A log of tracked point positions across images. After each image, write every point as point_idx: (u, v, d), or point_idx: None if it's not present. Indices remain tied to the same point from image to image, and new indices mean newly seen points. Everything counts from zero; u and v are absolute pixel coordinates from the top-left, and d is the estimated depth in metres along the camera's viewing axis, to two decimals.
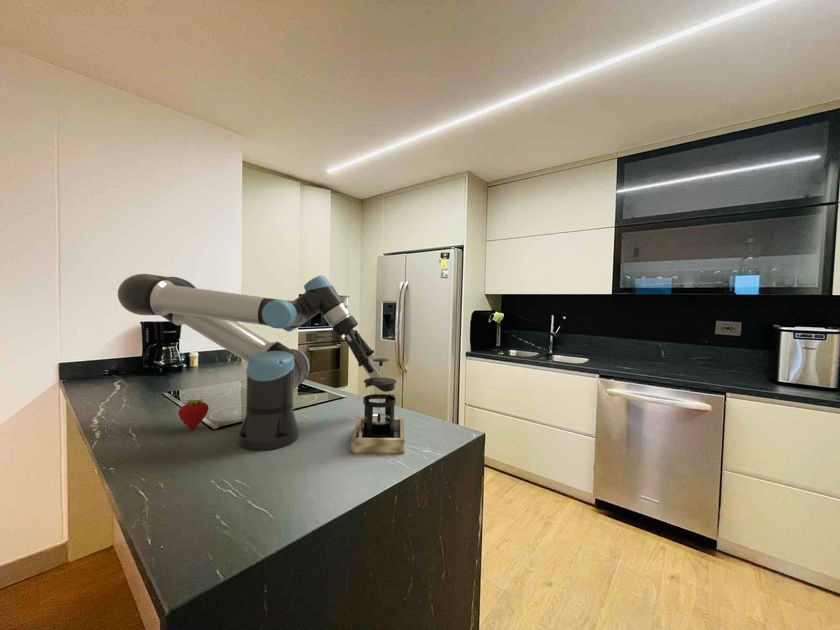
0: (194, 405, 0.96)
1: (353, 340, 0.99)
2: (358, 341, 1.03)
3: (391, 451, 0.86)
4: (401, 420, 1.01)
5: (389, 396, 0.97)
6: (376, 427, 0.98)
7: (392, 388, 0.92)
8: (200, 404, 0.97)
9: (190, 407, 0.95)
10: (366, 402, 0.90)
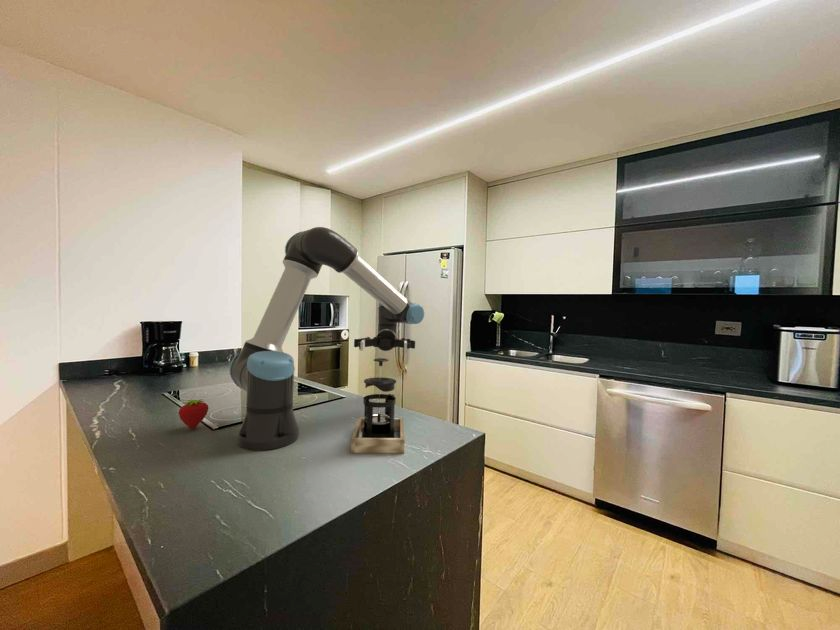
0: (194, 405, 0.96)
1: None
2: None
3: (391, 451, 0.86)
4: (401, 420, 1.01)
5: (389, 396, 0.97)
6: (376, 427, 0.98)
7: (392, 388, 0.92)
8: (200, 404, 0.97)
9: (190, 407, 0.95)
10: (366, 402, 0.90)
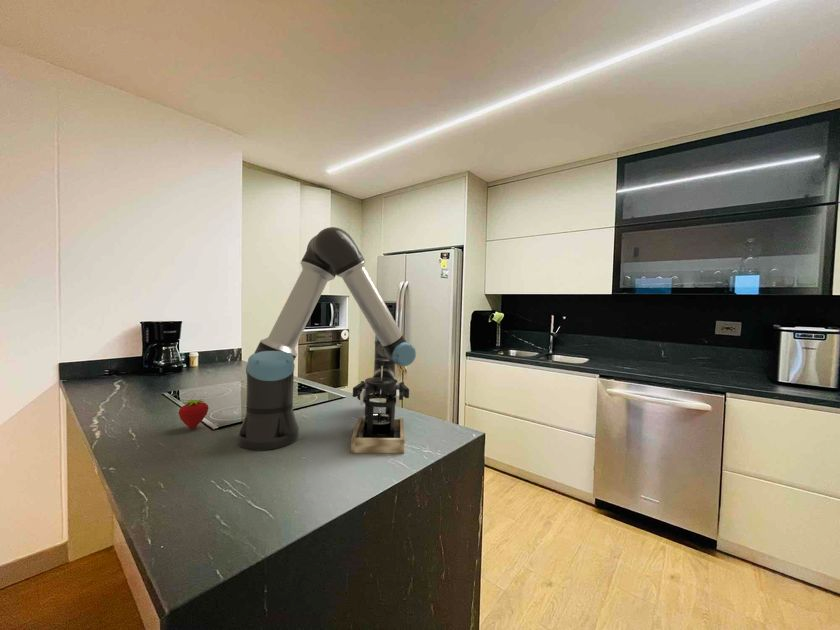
0: (194, 405, 0.96)
1: None
2: None
3: (391, 451, 0.86)
4: (401, 420, 1.01)
5: (390, 396, 0.97)
6: (376, 427, 0.98)
7: (393, 388, 0.92)
8: (200, 404, 0.97)
9: (190, 407, 0.95)
10: (367, 402, 0.90)
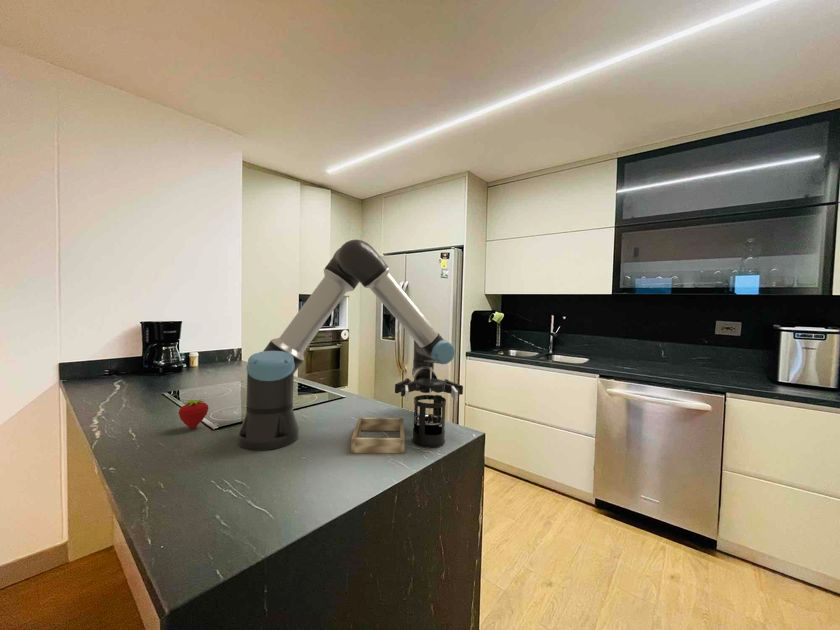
0: (194, 405, 0.96)
1: None
2: None
3: (391, 451, 0.86)
4: (401, 420, 1.01)
5: (437, 397, 0.98)
6: (424, 428, 0.99)
7: (443, 389, 0.93)
8: (200, 404, 0.97)
9: (190, 407, 0.95)
10: (418, 403, 0.91)
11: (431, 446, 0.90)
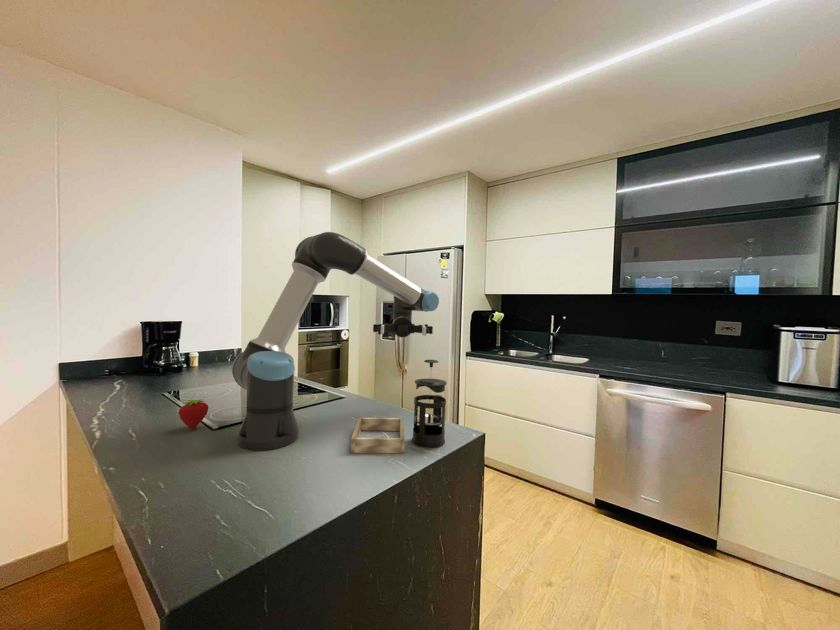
0: (194, 405, 0.96)
1: None
2: None
3: (391, 451, 0.86)
4: (401, 420, 1.01)
5: (437, 397, 0.98)
6: (424, 428, 0.99)
7: (443, 389, 0.93)
8: (200, 404, 0.97)
9: (190, 407, 0.95)
10: (418, 403, 0.91)
11: (431, 446, 0.90)
